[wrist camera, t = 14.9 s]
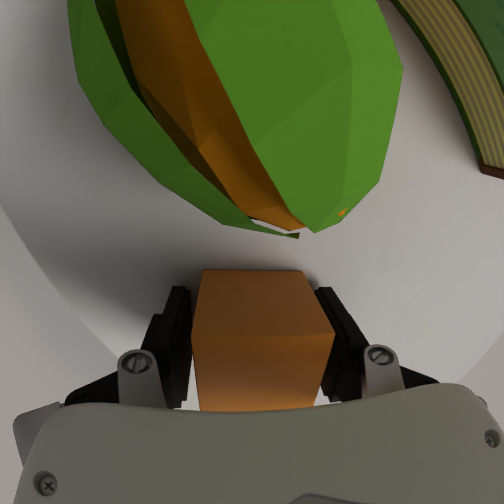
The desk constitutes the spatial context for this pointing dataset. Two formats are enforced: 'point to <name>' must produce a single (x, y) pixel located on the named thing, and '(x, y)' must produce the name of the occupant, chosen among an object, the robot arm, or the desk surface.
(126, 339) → the desk surface
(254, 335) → the cheese block
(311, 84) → the corn
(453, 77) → the book
